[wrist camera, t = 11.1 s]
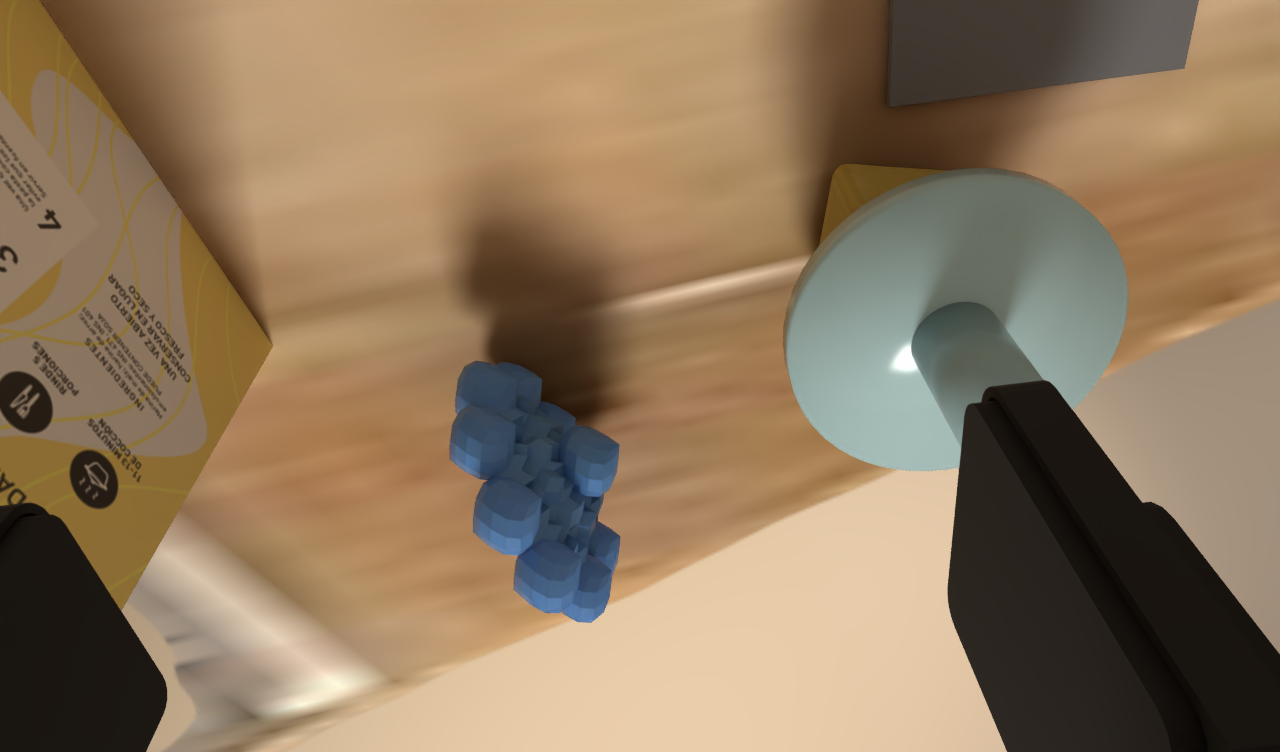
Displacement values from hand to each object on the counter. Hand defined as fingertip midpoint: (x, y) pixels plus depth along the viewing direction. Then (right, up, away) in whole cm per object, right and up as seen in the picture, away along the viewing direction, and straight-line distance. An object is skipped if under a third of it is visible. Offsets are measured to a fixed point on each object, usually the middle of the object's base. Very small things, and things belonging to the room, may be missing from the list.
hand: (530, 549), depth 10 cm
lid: (+12, +4, +24) cm, 27 cm away
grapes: (-3, +1, +36) cm, 36 cm away
